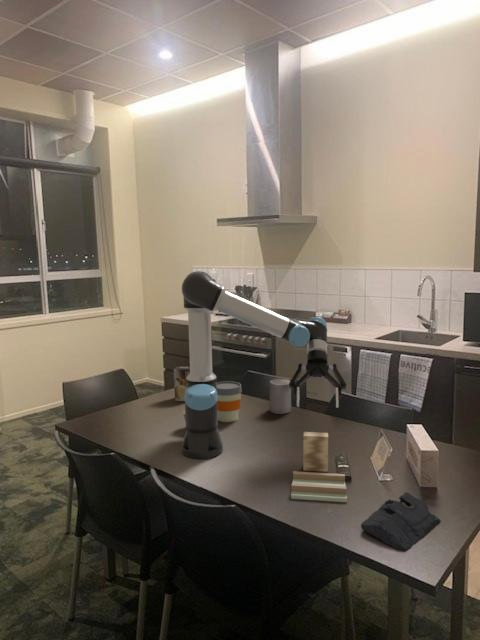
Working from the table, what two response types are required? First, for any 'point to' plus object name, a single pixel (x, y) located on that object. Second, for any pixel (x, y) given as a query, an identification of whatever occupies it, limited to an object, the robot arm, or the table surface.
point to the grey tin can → (280, 396)
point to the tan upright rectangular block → (315, 451)
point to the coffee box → (180, 382)
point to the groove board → (319, 486)
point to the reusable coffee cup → (228, 401)
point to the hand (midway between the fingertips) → (317, 405)
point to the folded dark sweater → (401, 522)
